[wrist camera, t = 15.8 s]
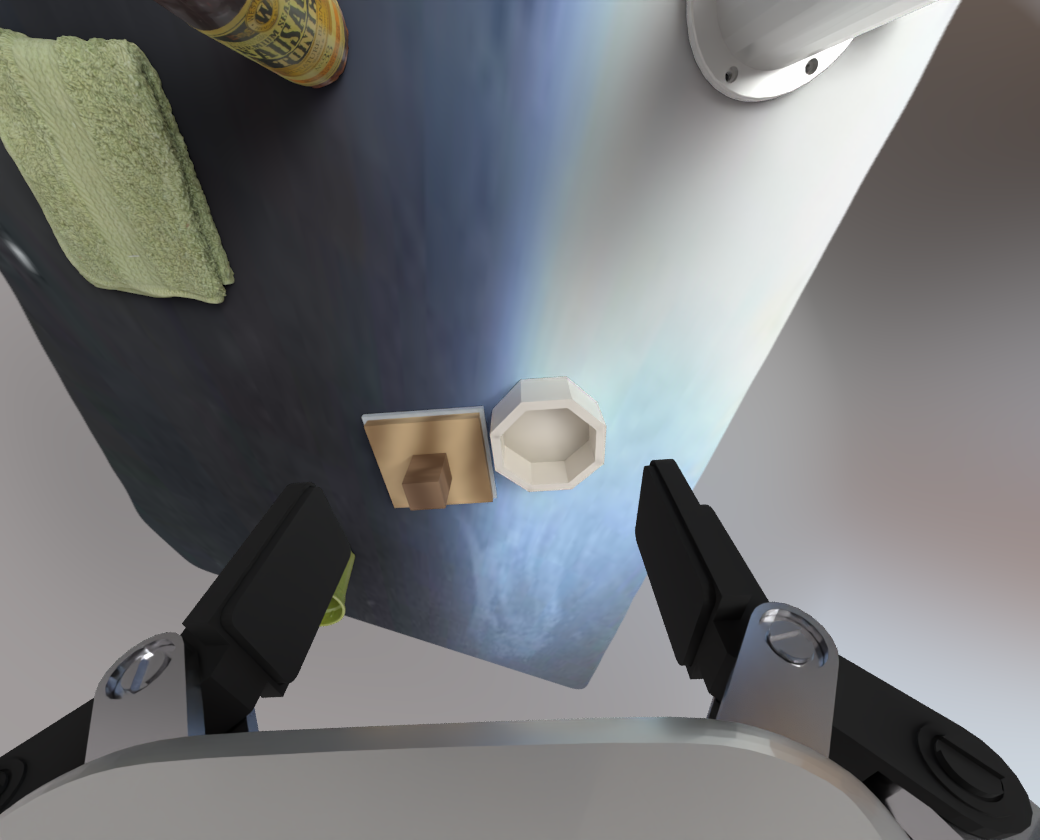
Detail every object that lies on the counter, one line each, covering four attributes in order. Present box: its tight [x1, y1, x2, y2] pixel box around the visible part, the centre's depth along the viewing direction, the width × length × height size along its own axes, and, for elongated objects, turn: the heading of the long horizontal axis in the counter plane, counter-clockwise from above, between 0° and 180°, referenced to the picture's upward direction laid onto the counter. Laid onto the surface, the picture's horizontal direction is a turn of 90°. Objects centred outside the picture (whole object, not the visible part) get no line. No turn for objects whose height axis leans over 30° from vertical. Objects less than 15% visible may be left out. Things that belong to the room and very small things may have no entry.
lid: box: [364, 412, 493, 510], centre depth 43 cm, size 13×13×6 cm
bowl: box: [490, 376, 606, 492], centre depth 41 cm, size 12×12×5 cm
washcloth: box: [0, 28, 234, 304], centre depth 29 cm, size 13×18×3 cm
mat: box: [362, 406, 497, 498], centre depth 45 cm, size 14×14×1 cm
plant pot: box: [320, 551, 355, 626], centre depth 52 cm, size 9×9×9 cm
